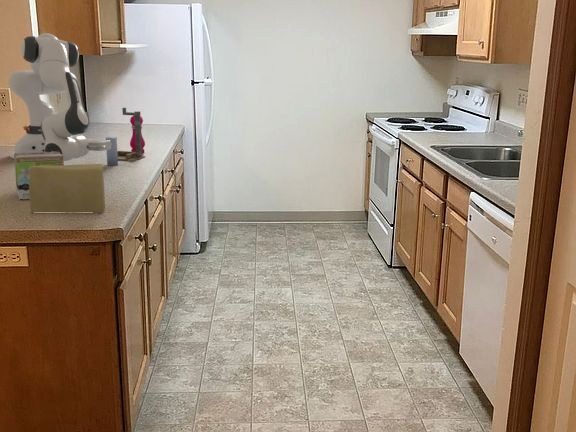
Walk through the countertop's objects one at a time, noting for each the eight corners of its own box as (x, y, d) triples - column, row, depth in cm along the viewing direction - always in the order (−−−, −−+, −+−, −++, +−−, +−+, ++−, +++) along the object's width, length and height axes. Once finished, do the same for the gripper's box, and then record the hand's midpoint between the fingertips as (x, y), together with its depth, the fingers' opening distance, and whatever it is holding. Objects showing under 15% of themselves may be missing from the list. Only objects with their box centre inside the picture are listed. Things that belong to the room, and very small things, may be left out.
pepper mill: (141, 154, 296) (139, 113, 291) (127, 153, 297) (125, 112, 292) (147, 152, 303) (146, 111, 297) (134, 151, 304) (132, 110, 299)
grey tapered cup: (109, 166, 267) (107, 138, 264) (105, 164, 271) (104, 137, 268) (119, 165, 270) (118, 137, 266) (115, 163, 273) (114, 136, 270)
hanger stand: (133, 161, 279) (131, 110, 272) (107, 159, 282) (104, 109, 275) (145, 157, 289) (143, 108, 283) (120, 155, 292) (118, 106, 286)
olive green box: (28, 217, 187) (24, 169, 183) (33, 209, 196) (29, 163, 192) (104, 214, 192) (101, 167, 188) (105, 207, 201) (103, 162, 197)
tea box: (19, 201, 206) (15, 157, 202) (16, 194, 214) (12, 152, 210) (66, 197, 213) (63, 154, 209) (62, 190, 221) (59, 150, 217)
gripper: (100, 139, 239) (118, 135, 252) (54, 137, 244) (74, 133, 257) (101, 155, 241) (119, 150, 254) (55, 152, 246) (75, 148, 259)
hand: (96, 141), depth 255 cm, fingers open, 8 cm apart
